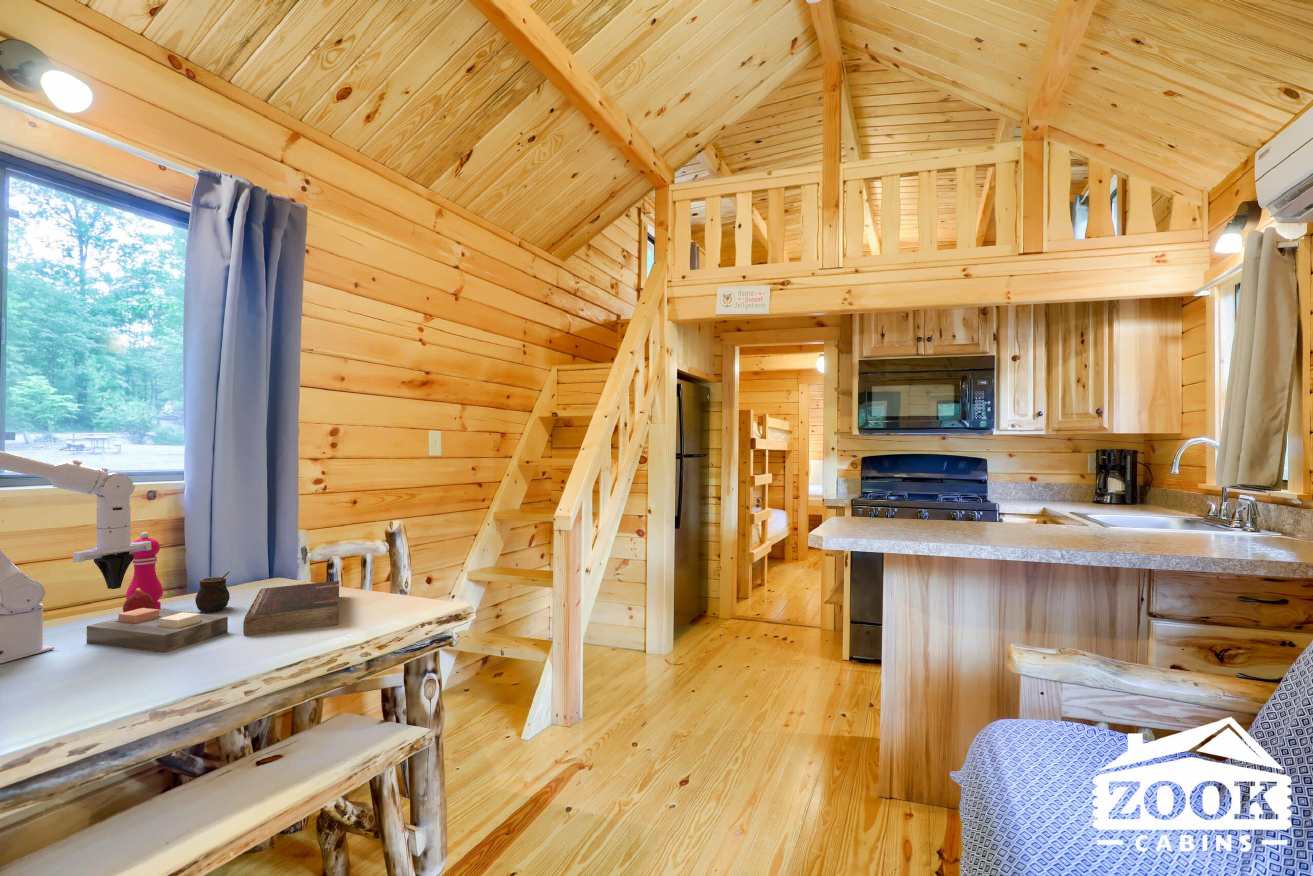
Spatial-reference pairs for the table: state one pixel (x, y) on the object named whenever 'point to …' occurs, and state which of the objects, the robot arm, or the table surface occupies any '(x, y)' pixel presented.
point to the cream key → (179, 620)
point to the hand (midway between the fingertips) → (114, 588)
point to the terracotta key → (138, 615)
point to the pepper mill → (146, 571)
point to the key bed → (156, 632)
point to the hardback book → (293, 608)
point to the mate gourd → (212, 594)
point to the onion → (138, 601)
